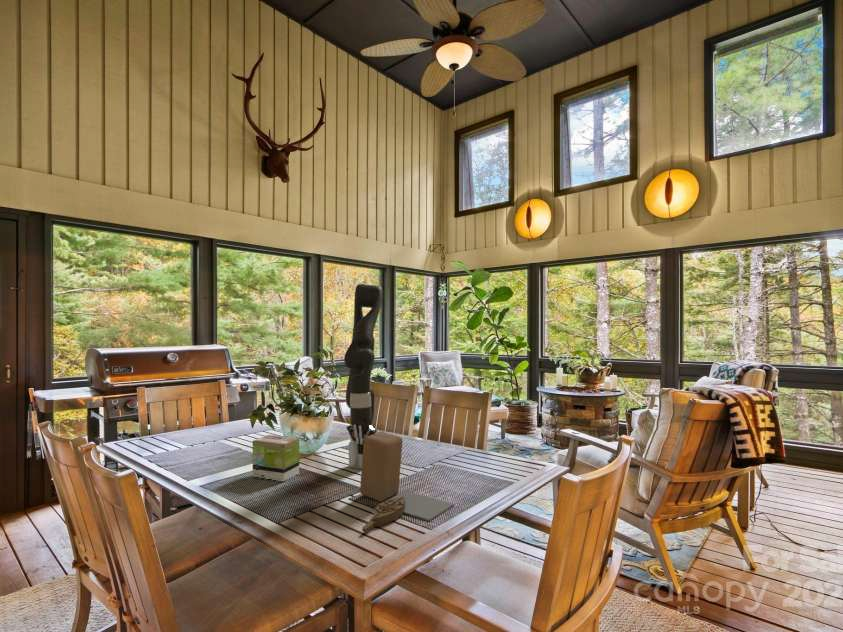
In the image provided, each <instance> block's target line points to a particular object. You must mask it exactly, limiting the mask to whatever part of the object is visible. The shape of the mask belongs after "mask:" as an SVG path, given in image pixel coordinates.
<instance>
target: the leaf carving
mask: <svg viewBox="0 0 843 632" xmlns="http://www.w3.org/2000/svg"><path fill="white" fill-rule="evenodd" d="M389 499H390V498H389ZM386 500H387V501H386ZM386 500H385V502H384V501H382V502H380V503H379V504H377V505H376V507H375V508H374V510H373V515H372V519H371V520H369V521H368V522H367V523H366V524H365V525H363V526H362V527H361V529H362V532H368V531H369V530H370V529H372V528H374V527H378V526H382V525H385V524H389V523H391V522H393V521H395V520H397V519H399V518H400V517H401V516H402V515H404V514H403V512H404V510H405V497H404V498H403V497H399V498H394V499H390V500H388V499H386Z"/></svg>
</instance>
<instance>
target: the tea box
mask: <svg viewBox="0 0 843 632" xmlns="http://www.w3.org/2000/svg"><path fill="white" fill-rule="evenodd" d="M297 474H298V475H300V438H299V437H291V436H284V435H283V436H282V435H276V434H275V435H272V434H267V435H265V436H262V437H260V438H257V439H254V440H252V477H253V476H255V477H263V478H269V479H275V480H281V481H285V480H287V479H289V478H291V477H293V476H295V475H297ZM298 475H297V476H298ZM295 477H296V476H295ZM293 478H294V477H293ZM291 479H292V478H291Z"/></svg>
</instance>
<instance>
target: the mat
mask: <svg viewBox="0 0 843 632" xmlns="http://www.w3.org/2000/svg"><path fill="white" fill-rule="evenodd" d="M399 497H403V498H404V497H405V510H404V512H403V514H402V515H406V516H410V517H413V518H417V519H419V520H423V521H426V522H431V521H433V520H435V519H436V518H438V517H439V516H440V515H442V514H444V513H446V512H447V511H448V510H450V509H452V508H453V507H455V503H452V502H449V501H445V500H441V499H437V498H434V497H430V496H426V495H423V494H422V495H421V494H419V493H415V492H410V491H407V490H404V491H402V492H401V493H399V494H398V493H397V494H395V495H394V496H392V497H390V498H388V499H386V500H385V501H387V500H390V499H394V498H399ZM385 501H383V502H385Z"/></svg>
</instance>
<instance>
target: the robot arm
mask: <svg viewBox="0 0 843 632" xmlns="http://www.w3.org/2000/svg"><path fill="white" fill-rule="evenodd" d="M383 293H384V292H383V288H382V286H380V285H374V284H364V283H359V284H357V285H356V286H355V290H354V300H353V301H354V302H353V303H354V304H353V306H354V308H353V309H354V310H353V313H354V314H353V327H352V337H351V342H350V344H349V346H348V348H347V349H346V352H345V354H344V359H343V361H344V366H345V367H347V369H349V371H348V377H347V378H348V379H347V384H346V391H345V403H346V407H348V408H349V410H350V413H349V414H350V419H349V420H350V422H349V425H347V426H346V430H347V433H348V434H349V436H350V441H349V442H348V466H350V467H351V468H352V469H355V470H362V459H363V446H364V438H365V437H367V436H370V435H373V434H376V433H378V432H377V431H378V430H377V428H374V427H373V426H374V425H373V424H374V422H373V420H374V417H375V392H374V388H373V387H372V386H371V376H372V371H373V366H374V363H375V344H376V342H375V337H374V331H375V328H376V327H375V326H376V323H377V321H378V317H379V314H380V310H381V308H382V303H383V297H384V296H383V295H384V294H383ZM363 308H368V309H369V308H370V310H369V311H368V312H367V313H366V314H365V315H364V313H363V312H364V311H363Z"/></svg>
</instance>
